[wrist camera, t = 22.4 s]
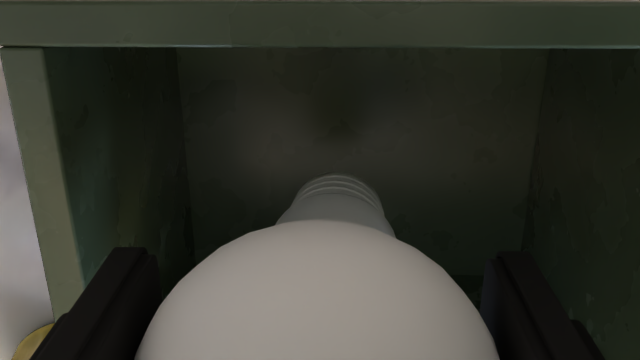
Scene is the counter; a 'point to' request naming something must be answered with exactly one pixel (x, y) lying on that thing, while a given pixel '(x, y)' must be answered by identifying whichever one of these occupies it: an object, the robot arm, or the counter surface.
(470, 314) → the lightbulb
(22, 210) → the counter surface
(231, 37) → the bin
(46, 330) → the vase
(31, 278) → the counter surface
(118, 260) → the robot arm
